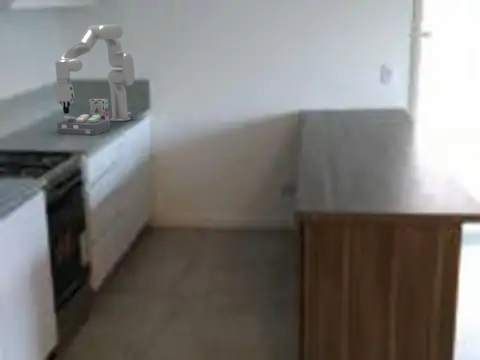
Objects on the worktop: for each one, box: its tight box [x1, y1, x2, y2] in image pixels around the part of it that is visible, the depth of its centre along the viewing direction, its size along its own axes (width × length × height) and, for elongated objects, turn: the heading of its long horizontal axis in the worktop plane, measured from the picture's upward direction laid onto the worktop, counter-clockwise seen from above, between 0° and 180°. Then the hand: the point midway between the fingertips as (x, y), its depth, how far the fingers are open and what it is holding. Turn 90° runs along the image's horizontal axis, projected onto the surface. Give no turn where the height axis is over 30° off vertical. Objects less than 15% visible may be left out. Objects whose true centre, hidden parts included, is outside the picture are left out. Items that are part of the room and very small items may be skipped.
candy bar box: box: [88, 98, 111, 127], centre depth 423 cm, size 11×5×16 cm, turn 62°
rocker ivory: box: [76, 113, 90, 122], centre depth 406 cm, size 7×4×2 cm, turn 157°
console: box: [56, 119, 110, 136], centre depth 407 cm, size 14×26×7 cm, turn 67°
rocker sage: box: [87, 115, 101, 123], centre depth 403 cm, size 7×4×2 cm, turn 157°
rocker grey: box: [63, 115, 79, 120], centre depth 409 cm, size 7×4×2 cm, turn 157°
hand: (66, 113), depth 405 cm, fingers closed
